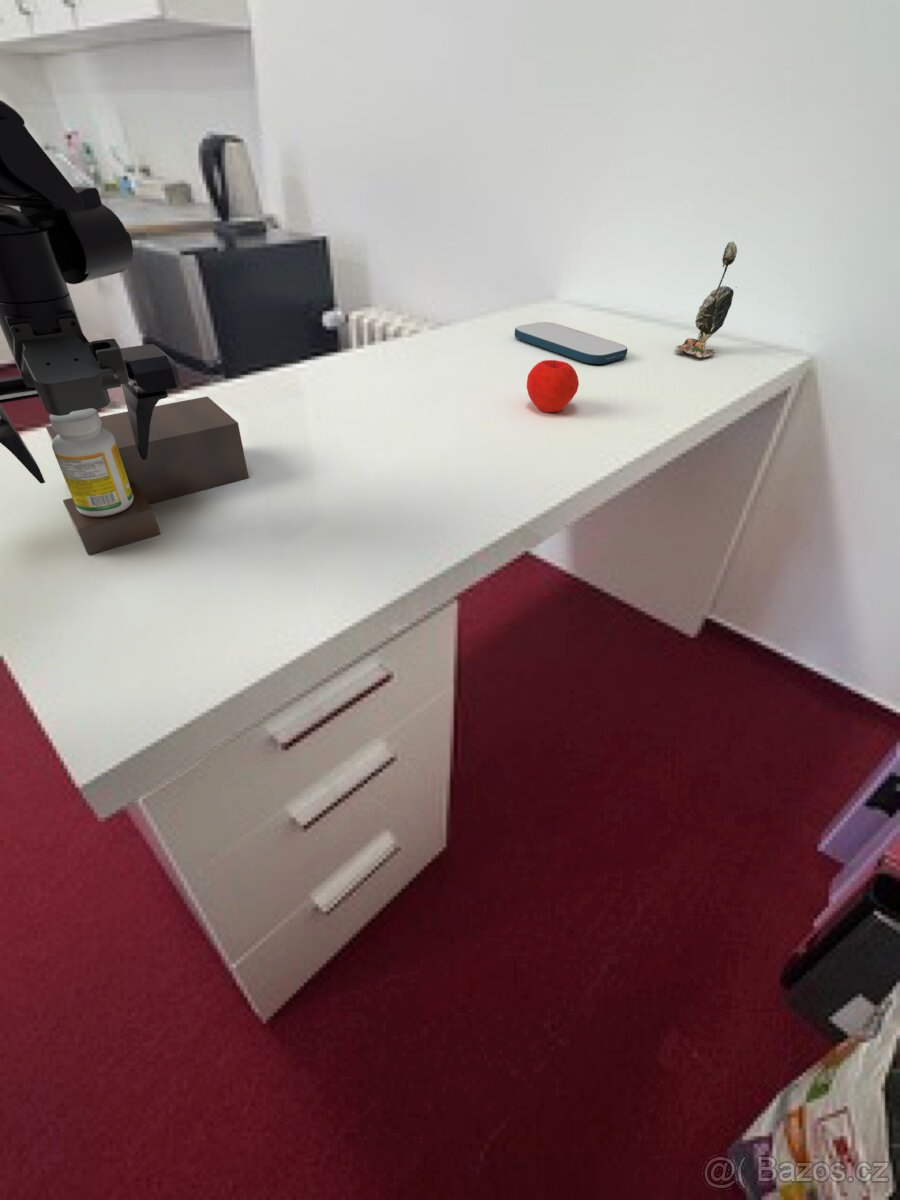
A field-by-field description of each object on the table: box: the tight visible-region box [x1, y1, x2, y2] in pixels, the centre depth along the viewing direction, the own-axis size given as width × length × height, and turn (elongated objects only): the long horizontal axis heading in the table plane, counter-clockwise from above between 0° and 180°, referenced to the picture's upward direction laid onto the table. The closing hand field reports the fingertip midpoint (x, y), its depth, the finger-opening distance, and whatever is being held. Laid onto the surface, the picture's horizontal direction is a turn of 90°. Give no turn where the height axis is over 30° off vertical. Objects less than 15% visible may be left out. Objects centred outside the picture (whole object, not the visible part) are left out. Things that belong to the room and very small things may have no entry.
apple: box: [526, 359, 580, 413], centre depth 92 cm, size 8×8×7 cm
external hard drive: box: [514, 321, 628, 365], centre depth 120 cm, size 24×12×2 cm, turn 39°
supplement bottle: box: [48, 408, 133, 517], centre depth 58 cm, size 5×5×10 cm
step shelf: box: [45, 395, 250, 556], centre depth 67 cm, size 20×17×7 cm
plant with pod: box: [674, 240, 738, 359], centre depth 115 cm, size 8×11×20 cm
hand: (95, 469), depth 58 cm, fingers open, 9 cm apart
